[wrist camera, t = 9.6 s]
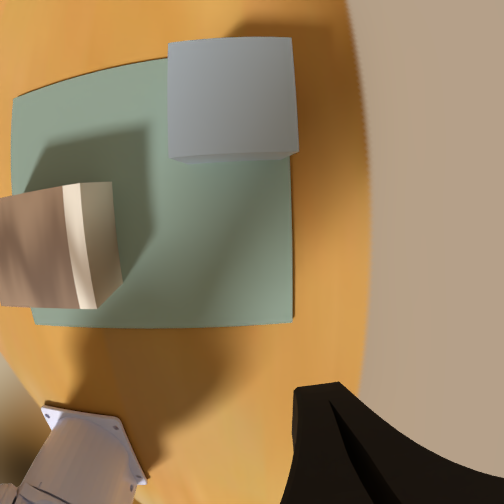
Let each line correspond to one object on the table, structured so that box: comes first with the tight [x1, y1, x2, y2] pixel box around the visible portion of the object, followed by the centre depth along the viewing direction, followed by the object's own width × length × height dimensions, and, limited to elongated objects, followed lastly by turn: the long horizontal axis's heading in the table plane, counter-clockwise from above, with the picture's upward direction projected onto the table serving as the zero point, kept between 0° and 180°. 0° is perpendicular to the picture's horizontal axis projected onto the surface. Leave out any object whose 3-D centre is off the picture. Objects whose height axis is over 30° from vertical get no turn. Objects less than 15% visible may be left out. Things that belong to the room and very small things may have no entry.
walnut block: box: [0, 182, 123, 309], centre depth 15 cm, size 6×4×7 cm
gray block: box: [167, 37, 299, 164], centre depth 13 cm, size 5×5×5 cm
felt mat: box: [11, 58, 292, 328], centre depth 16 cm, size 16×18×1 cm
